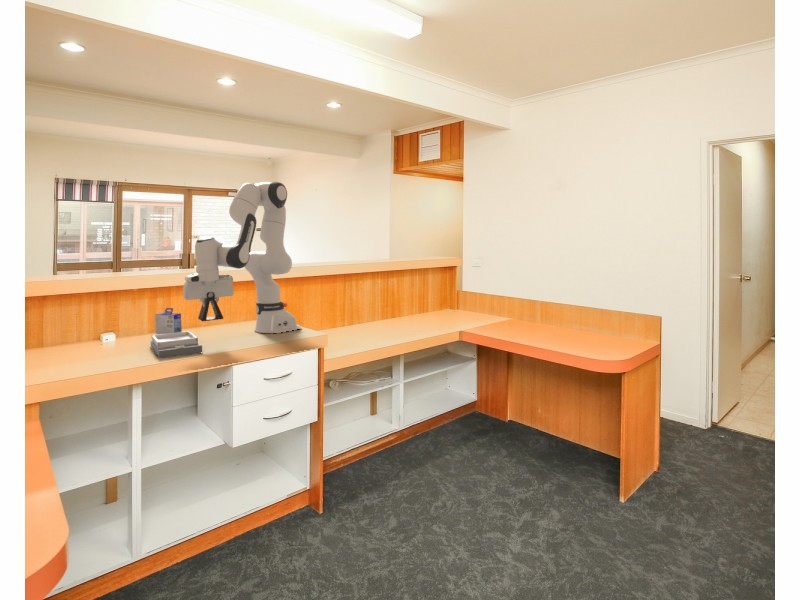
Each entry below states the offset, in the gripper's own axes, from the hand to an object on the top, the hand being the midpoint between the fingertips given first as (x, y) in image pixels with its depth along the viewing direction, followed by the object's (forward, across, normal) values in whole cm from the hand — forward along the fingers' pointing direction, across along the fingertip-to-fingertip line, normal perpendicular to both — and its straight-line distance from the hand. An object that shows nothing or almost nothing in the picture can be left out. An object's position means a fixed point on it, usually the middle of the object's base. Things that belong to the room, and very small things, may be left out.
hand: (210, 308), depth 210 cm
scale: (+16, +15, 0) cm, 22 cm away
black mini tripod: (+5, 0, 0) cm, 5 cm away
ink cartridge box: (+17, +14, -20) cm, 29 cm away
